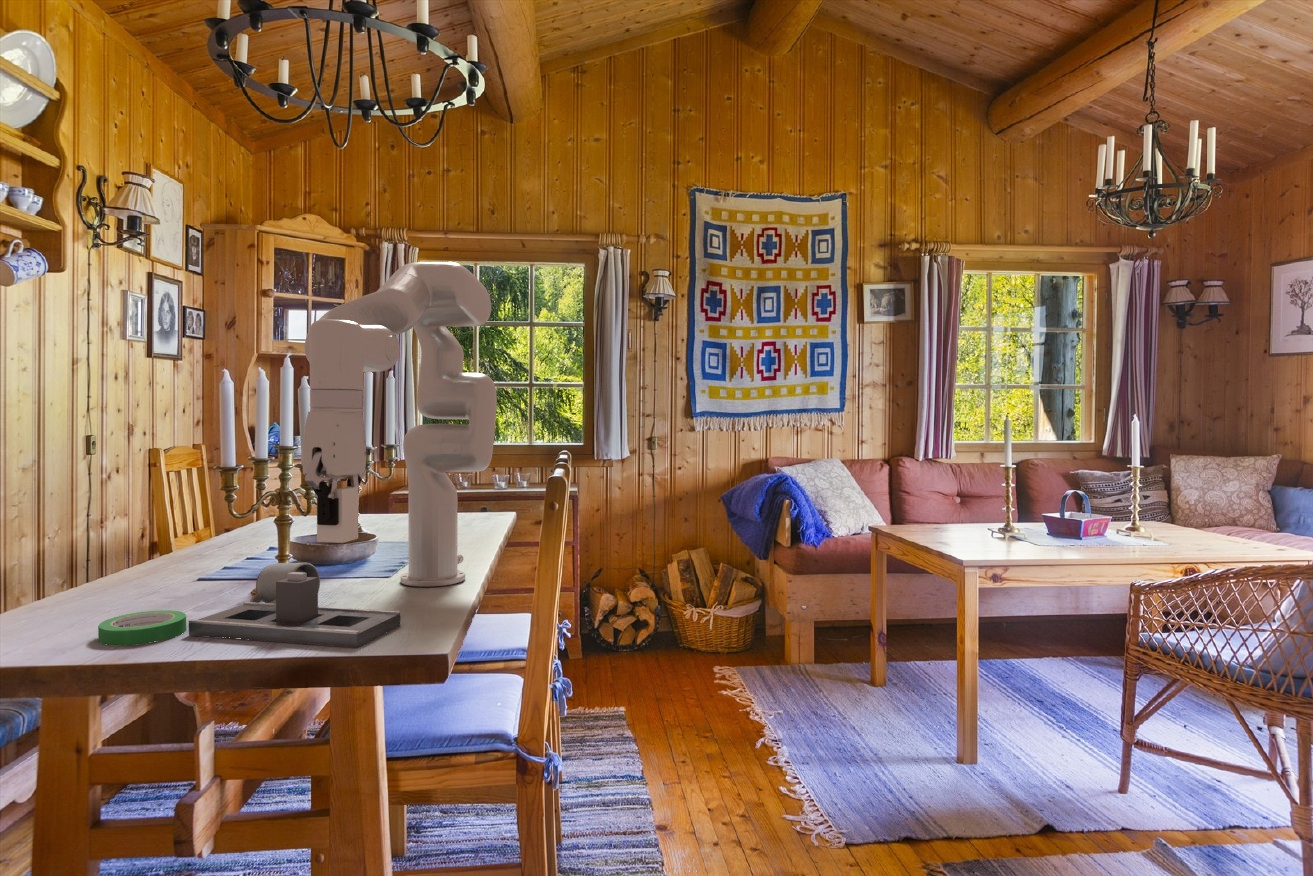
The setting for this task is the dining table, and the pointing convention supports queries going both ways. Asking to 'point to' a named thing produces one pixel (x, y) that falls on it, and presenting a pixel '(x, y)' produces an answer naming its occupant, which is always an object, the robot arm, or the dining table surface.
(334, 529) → the white block orange tab
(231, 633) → the panel
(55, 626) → the dining table surface
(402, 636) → the dining table surface
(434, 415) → the robot arm
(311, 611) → the matte charcoal box
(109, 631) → the tape roll
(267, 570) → the ceramic mug
